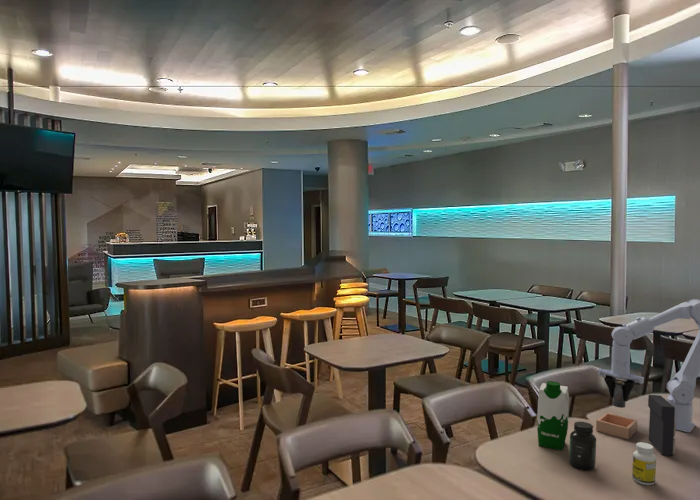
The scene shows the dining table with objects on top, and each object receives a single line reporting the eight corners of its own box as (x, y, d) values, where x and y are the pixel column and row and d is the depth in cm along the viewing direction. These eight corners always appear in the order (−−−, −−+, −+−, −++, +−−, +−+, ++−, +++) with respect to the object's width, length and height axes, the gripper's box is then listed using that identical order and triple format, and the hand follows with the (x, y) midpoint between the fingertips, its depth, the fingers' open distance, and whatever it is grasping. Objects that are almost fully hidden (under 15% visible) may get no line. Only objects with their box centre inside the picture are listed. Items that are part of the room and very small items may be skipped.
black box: (675, 456, 152) (678, 407, 151) (659, 455, 153) (662, 406, 152) (661, 441, 163) (663, 395, 162) (646, 440, 164) (648, 394, 163)
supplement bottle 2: (627, 476, 140) (629, 441, 140) (646, 475, 141) (647, 440, 140) (640, 486, 135) (642, 450, 134) (659, 485, 135) (661, 449, 135)
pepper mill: (614, 402, 184) (615, 379, 184) (626, 405, 182) (627, 381, 181) (611, 405, 181) (612, 381, 181) (623, 408, 179) (624, 384, 178)
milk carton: (535, 446, 158) (537, 383, 157) (539, 435, 166) (541, 375, 165) (565, 452, 154) (567, 387, 153) (568, 441, 162) (570, 379, 161)
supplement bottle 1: (564, 464, 147) (565, 423, 146) (576, 457, 151) (578, 418, 150) (587, 473, 141) (589, 431, 141) (599, 466, 145) (601, 425, 145)
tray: (605, 422, 178) (606, 412, 178) (637, 430, 171) (637, 420, 171) (596, 430, 171) (596, 420, 171) (628, 439, 164) (628, 428, 164)
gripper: (595, 359, 183) (593, 396, 184) (640, 367, 173) (638, 406, 173) (601, 355, 188) (600, 391, 189) (646, 363, 178) (644, 401, 179)
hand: (619, 398), depth 181 cm, fingers closed on pepper mill, 4 cm apart
